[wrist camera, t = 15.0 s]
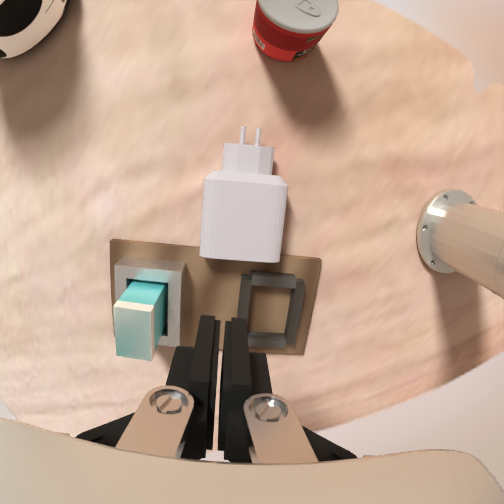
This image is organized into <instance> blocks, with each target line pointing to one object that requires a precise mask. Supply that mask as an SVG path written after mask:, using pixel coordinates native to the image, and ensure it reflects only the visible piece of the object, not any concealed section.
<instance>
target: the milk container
mask: <svg viewBox="0 0 504 504" xmlns="http://www.w3.org/2000/svg"><path fill="white" fill-rule="evenodd" d="M69 1H70V0H0V58H11V57H14V56H17V55H20V54H22V53H24V52H26V51H28V50H29V49H31V48H33V47H34V46H35V45H37V44H38V43H39V42H40V41H41V40H42V39H43V38H45V37H46V36H47V35H48V34H49V33H50V31H51V30H52V29H53V28H54V26H55V25H56V24H57V23H58V21H59V20H60V19H61V17H62V15H63V13H64V12H65V10H66V8H67V6H68V4H69Z"/></svg>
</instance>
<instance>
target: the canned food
mask: <svg viewBox="0 0 504 504" xmlns="http://www.w3.org/2000/svg"><path fill="white" fill-rule="evenodd" d="M338 9H339V6H338V0H257V2H256V8H255V15H254V22H253V29H252V32H253V38H254V41H255V43H256V45H257V46H258V47H259V48H260V50H261V51H262V52H263V53H265V54H266V55H267V56H269V57H271V58H273V59H276V60H280V61H296V60H299V59H302V58H304V57H306V56H307V55H308V54H309V53H310V52H311V51H312V50H313V48H314V47H315V46H316V45H317V43H318V42H319V41H320V39H321V38H322V37H323V35H324V34H325V33H326V32H327V30H328V29H329V28H330V26H331V25H332V24H333V22H334V21H335V19H336V17H337V14H338Z"/></svg>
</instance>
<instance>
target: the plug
mask: <svg viewBox="0 0 504 504" xmlns="http://www.w3.org/2000/svg"><path fill="white" fill-rule="evenodd" d="M113 315H114V331H115V344H116V355H117V356H122V357H128V358H134V359H140V360H146V361H152V359H153V356H154V353H155V350H156V348H157V345H158V343H159V340H160V337H161V335H162V332H163V329H164V327H165V324H166V322H167V317H168V283H165V282H156V281H147V280H138V279H134V280H133V282H132V283H131V284H130V285H129V287H128V288H127V289H126V291H125V292H124V293H123V294H122V296H121V297H120V298H119V300H117V302H116V303H115V304H114V306H113Z"/></svg>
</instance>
